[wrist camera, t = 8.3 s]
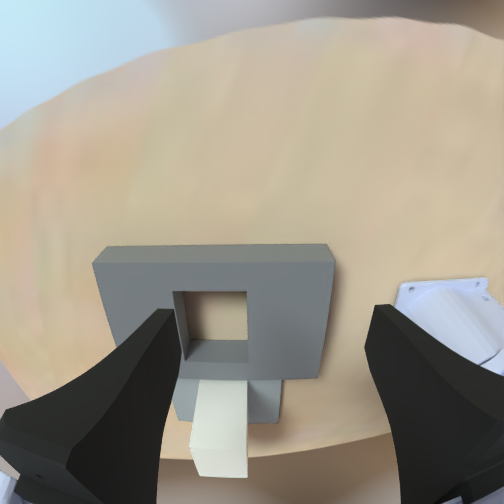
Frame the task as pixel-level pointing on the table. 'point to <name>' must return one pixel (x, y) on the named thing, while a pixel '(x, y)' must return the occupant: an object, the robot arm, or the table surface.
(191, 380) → the mat
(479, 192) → the table surface
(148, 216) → the table surface
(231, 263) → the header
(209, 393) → the plug
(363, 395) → the table surface
